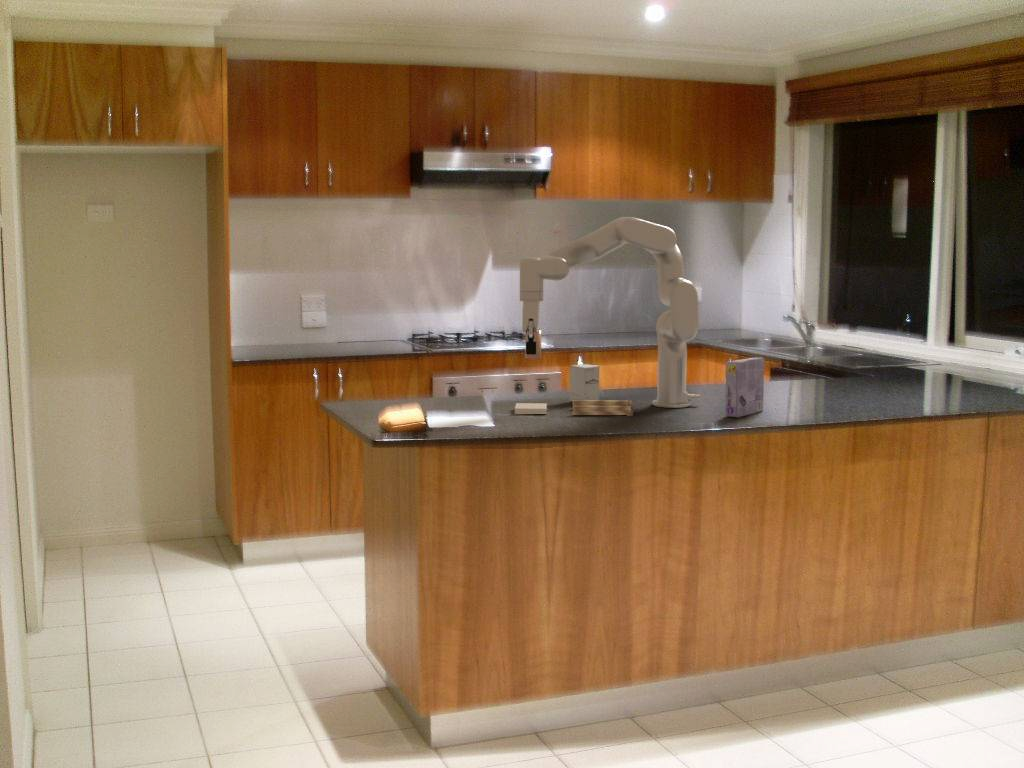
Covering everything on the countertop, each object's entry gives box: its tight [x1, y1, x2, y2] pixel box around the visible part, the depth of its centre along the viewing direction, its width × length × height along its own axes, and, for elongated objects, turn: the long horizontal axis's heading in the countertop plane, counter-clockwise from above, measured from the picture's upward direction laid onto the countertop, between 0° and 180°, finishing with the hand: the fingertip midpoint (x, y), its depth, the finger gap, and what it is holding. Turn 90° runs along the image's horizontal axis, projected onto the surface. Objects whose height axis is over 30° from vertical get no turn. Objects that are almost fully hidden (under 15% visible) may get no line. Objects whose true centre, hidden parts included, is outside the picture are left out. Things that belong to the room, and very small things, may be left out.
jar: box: [525, 326, 542, 360], centre depth 350 cm, size 5×5×10 cm
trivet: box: [514, 402, 548, 415], centre depth 354 cm, size 10×10×2 cm
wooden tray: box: [572, 399, 634, 417], centre depth 352 cm, size 19×12×3 cm, turn 87°
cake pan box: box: [725, 357, 765, 419], centre depth 349 cm, size 19×5×18 cm, turn 141°
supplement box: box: [569, 363, 600, 403], centre depth 372 cm, size 7×7×13 cm
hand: (531, 352), depth 351 cm, fingers closed on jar, 5 cm apart
